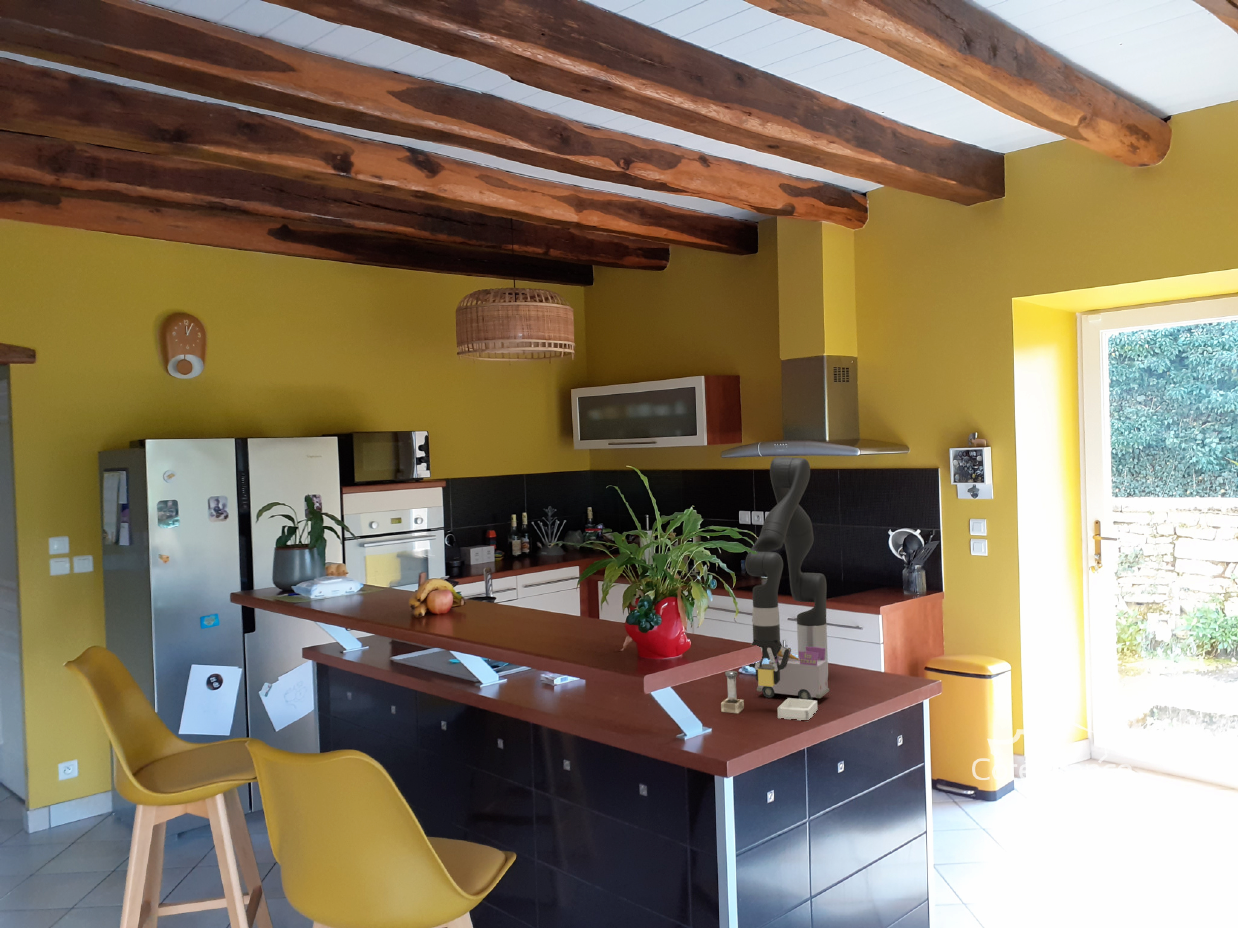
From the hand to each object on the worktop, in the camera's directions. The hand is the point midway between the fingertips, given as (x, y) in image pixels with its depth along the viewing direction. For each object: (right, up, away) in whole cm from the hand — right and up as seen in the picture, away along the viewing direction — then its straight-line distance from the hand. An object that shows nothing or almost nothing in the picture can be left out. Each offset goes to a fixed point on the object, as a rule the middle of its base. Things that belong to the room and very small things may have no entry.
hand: (767, 682), depth 262 cm
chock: (0, 0, 0) cm, 0 cm away
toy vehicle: (+9, -7, +12) cm, 17 cm away
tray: (+8, -8, -5) cm, 12 cm away
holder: (-10, -8, +1) cm, 13 cm away
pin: (-10, -8, +1) cm, 13 cm away
